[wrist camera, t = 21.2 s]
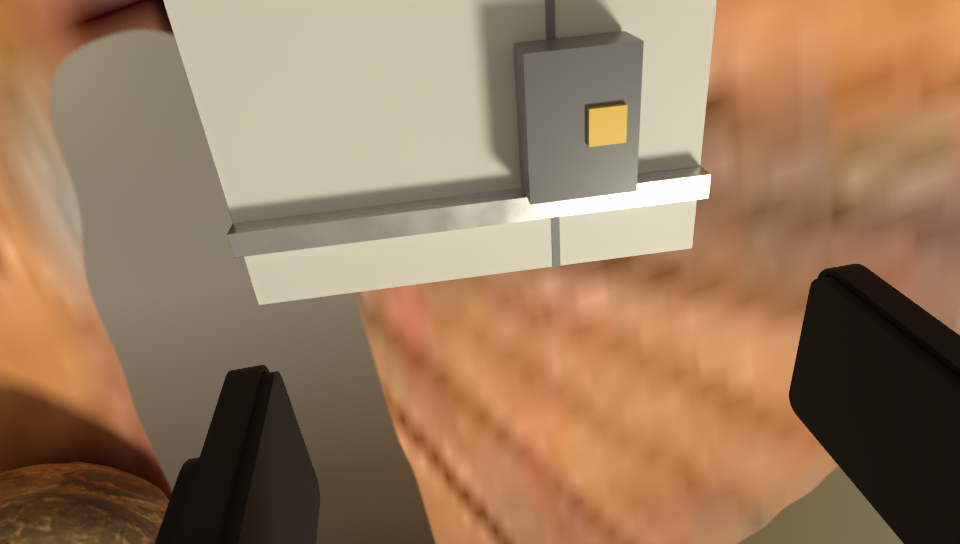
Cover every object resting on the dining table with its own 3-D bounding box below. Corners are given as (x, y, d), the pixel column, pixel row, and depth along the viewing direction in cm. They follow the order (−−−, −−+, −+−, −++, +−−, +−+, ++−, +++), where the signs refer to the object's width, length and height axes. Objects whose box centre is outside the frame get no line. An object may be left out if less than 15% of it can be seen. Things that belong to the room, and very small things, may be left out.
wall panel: (131, -152, 29) (99, -160, 26) (718, -204, 30) (753, -218, 27) (264, 288, 41) (254, 318, 38) (679, 234, 42) (701, 259, 39)
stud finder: (513, 43, 33) (524, 55, 30) (624, 30, 33) (645, 41, 30) (521, 184, 37) (531, 206, 34) (620, 172, 37) (638, 193, 34)
